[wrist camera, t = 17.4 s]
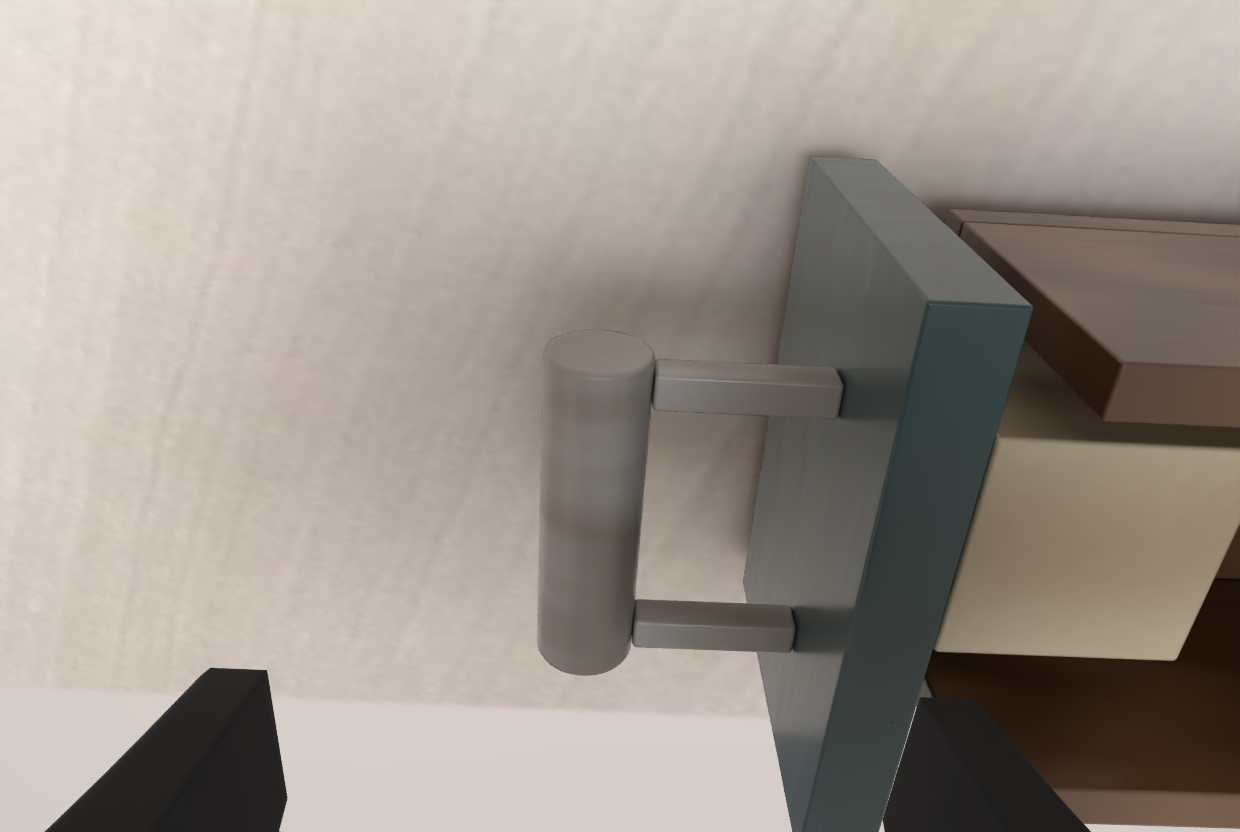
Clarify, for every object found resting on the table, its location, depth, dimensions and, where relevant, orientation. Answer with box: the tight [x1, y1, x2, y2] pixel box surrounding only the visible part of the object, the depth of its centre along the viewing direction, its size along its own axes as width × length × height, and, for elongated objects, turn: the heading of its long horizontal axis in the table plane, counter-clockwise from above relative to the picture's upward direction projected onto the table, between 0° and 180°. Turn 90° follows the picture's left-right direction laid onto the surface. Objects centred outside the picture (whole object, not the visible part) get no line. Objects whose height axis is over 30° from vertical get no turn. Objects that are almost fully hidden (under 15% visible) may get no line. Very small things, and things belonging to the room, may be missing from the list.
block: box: [933, 340, 1240, 661], centre depth 16 cm, size 4×4×4 cm
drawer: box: [537, 156, 1240, 832], centre depth 15 cm, size 20×9×7 cm, turn 87°
